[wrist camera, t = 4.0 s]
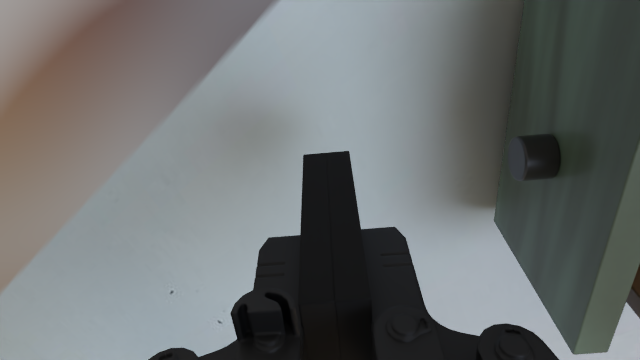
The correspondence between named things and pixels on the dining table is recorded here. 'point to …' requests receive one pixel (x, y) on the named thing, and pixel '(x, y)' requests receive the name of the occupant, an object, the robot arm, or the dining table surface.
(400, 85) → the dining table surface
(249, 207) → the dining table surface
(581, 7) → the drawer
